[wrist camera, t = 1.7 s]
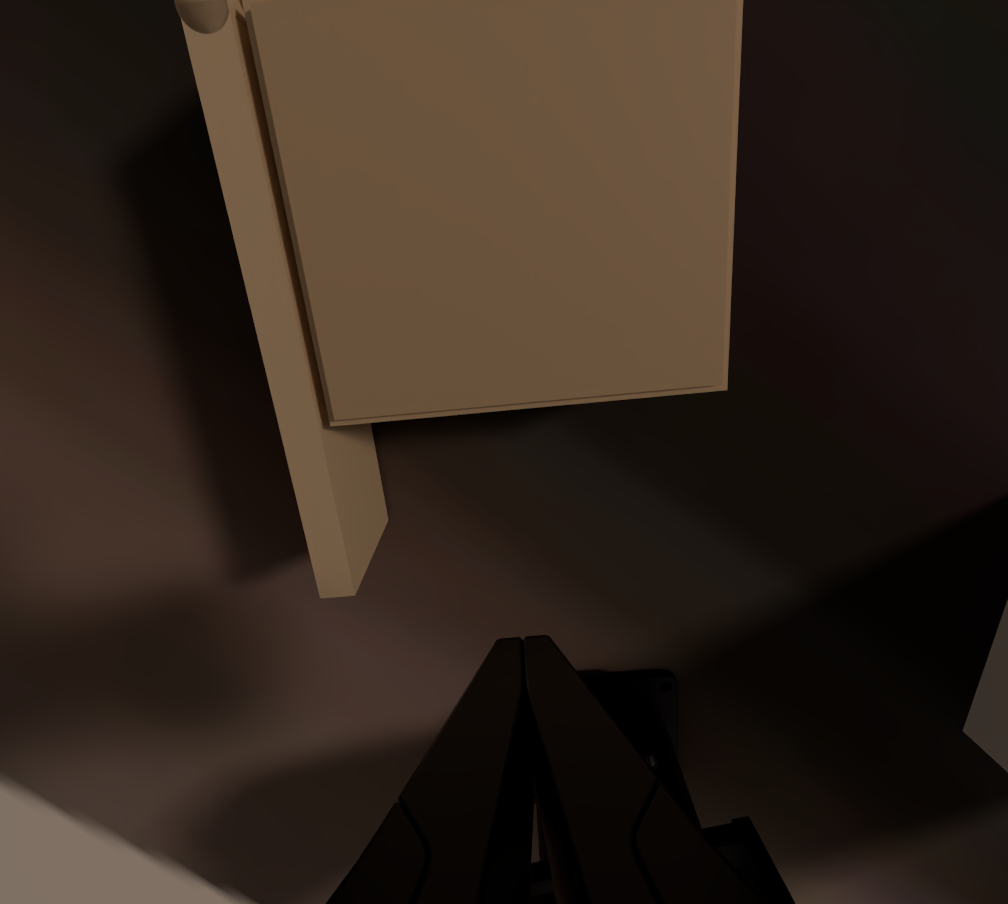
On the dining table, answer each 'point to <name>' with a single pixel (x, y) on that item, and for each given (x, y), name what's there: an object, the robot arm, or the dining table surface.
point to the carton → (506, 196)
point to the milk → (992, 700)
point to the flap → (283, 306)
